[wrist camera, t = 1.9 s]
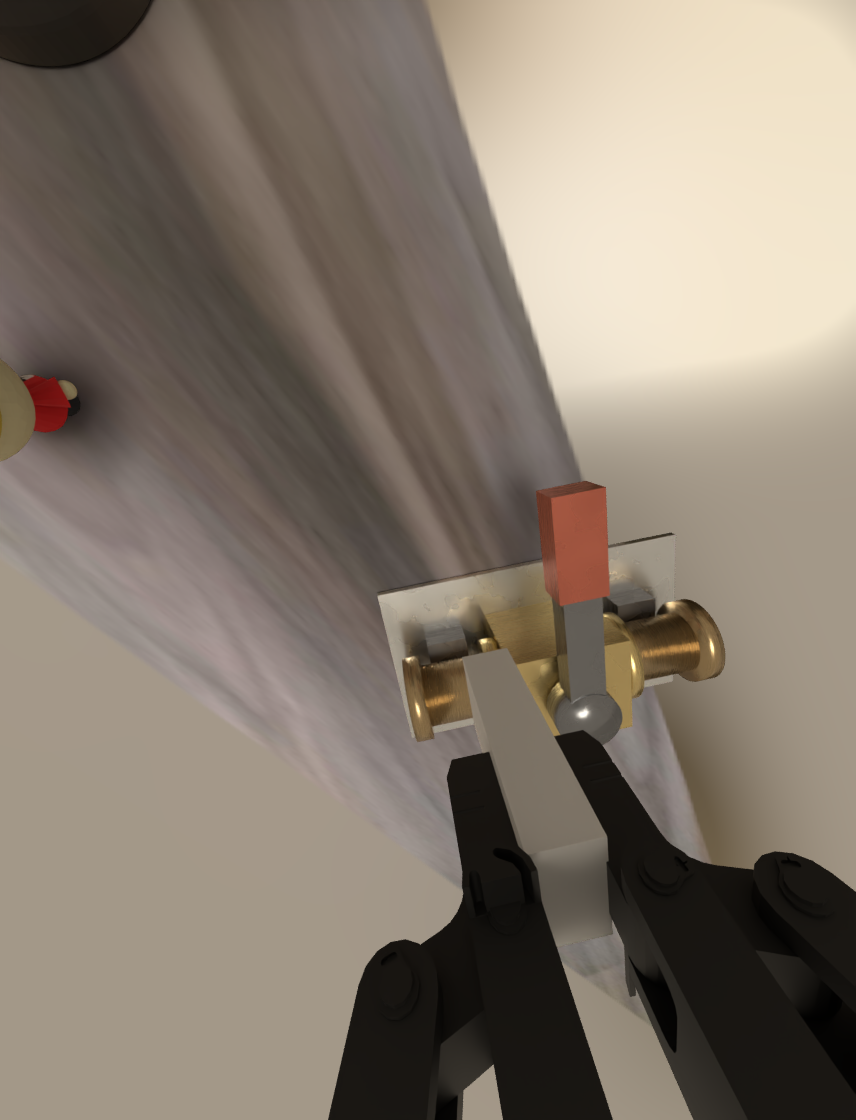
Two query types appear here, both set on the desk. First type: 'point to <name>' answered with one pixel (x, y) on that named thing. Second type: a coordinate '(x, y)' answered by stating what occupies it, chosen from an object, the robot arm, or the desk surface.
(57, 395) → the toy
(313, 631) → the desk surface
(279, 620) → the desk surface
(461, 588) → the valve body
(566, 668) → the lever
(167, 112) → the desk surface
